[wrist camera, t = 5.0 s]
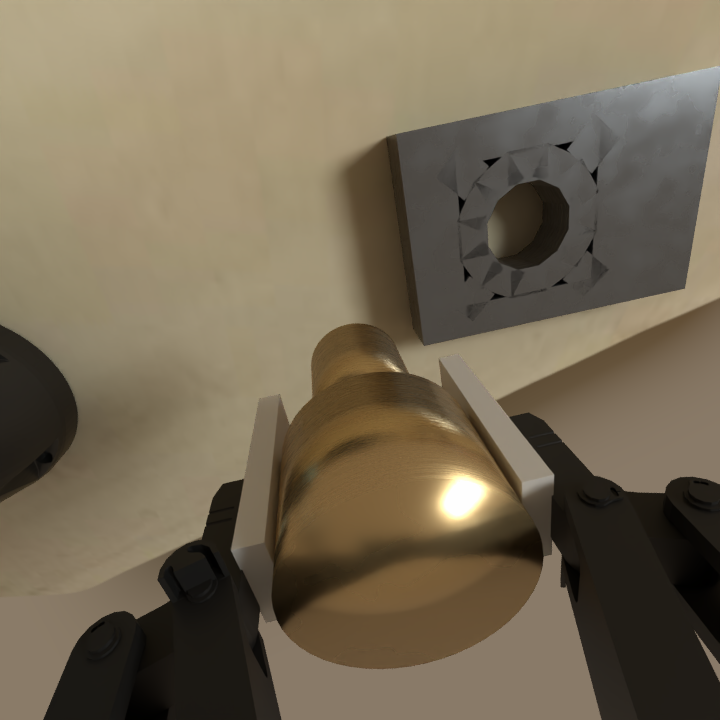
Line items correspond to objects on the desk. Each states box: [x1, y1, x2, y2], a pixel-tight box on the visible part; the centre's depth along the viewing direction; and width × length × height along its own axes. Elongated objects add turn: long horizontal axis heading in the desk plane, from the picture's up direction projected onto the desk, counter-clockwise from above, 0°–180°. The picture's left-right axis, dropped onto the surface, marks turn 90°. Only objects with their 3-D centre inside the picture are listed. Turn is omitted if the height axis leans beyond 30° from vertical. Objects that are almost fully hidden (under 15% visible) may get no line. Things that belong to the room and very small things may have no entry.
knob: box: [271, 323, 544, 669], centre depth 14 cm, size 6×6×11 cm
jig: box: [386, 66, 720, 346], centre depth 29 cm, size 20×14×4 cm
